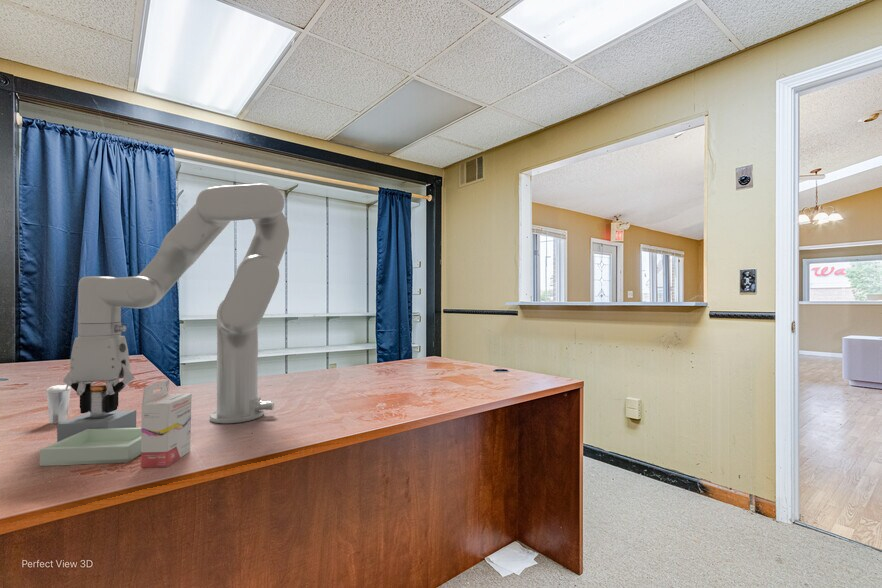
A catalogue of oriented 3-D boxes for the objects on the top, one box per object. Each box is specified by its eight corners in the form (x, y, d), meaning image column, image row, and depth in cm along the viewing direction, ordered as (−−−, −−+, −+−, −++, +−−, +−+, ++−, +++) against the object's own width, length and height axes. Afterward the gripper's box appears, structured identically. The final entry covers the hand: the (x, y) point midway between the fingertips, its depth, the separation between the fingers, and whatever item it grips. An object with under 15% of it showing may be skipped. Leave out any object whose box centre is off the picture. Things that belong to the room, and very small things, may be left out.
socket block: (136, 426, 100) (136, 410, 100) (108, 441, 90) (108, 422, 90) (90, 428, 99) (90, 411, 99) (57, 442, 89) (57, 424, 89)
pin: (111, 431, 97) (112, 384, 97) (101, 436, 93) (102, 387, 93) (96, 432, 96) (96, 384, 96) (85, 437, 93) (86, 387, 93)
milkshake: (58, 425, 101) (58, 384, 101) (40, 424, 102) (41, 383, 102) (78, 420, 105) (78, 380, 106) (61, 418, 107) (61, 379, 107)
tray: (162, 440, 91) (162, 426, 91) (127, 462, 79) (127, 446, 79) (87, 443, 89) (87, 429, 89) (39, 465, 77) (40, 449, 77)
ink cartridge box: (168, 467, 76) (169, 387, 77) (139, 468, 76) (140, 387, 76) (192, 450, 85) (192, 378, 85) (166, 451, 85) (167, 378, 85)
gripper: (149, 329, 100) (148, 406, 99) (71, 329, 98) (71, 408, 98) (129, 332, 92) (129, 415, 92) (45, 332, 90) (44, 417, 90)
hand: (99, 410), depth 95 cm, fingers open, 4 cm apart
